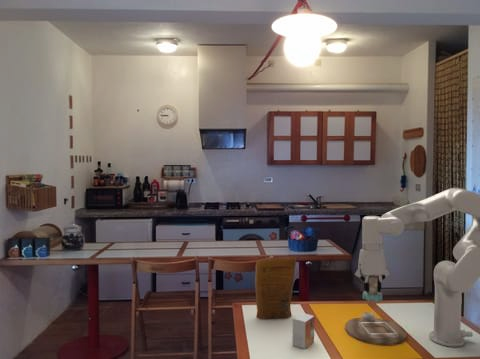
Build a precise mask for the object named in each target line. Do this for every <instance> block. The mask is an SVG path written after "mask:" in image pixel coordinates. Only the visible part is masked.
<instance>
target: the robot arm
mask: <svg viewBox="0 0 480 359" xmlns="http://www.w3.org/2000/svg"><path fill="white" fill-rule="evenodd" d="M454 211H457V212H461V213H464V214H466V215H469V216H471V223H470V226H469V228H468V229H467V231H466V232H465V233H464V235H463V236H462V237H461V238H460V239H459V241H458V242H457V243H456V244H455V246H454V247H453V250H452V255H453V257H454V259H455V260H456V261H457V262H456V263H455V262H453V261H451V260H442V261H440V262H438V263H437V264H436V265H435V266H434V269H433V281H434V282H433V283H434V303H433V304H434V305H433V307H434V308H433V310H434V311H433V331H430V332H429V334H428V335H429V336H428V338H429V339H430V340H431V341H432V342H434V343H436V344H439V345H441V346H446V347H452V348H458V347H462V346H464V345H465V339H464V338H465V337H466V338H467V337H468V338H472V337H474V336H473V332H472V331H466V329H462V327H461V326H462V325H461V324H462V322H461V321H462V304H463V302H462V301H463V298H462V294H463V293H466V292H468V291H469V290H470V289H471V288H472V287H473V286H474V285H475V284H476V283H477V281H478V280H479V279H480V193H477V192H474V191H471V190H468V189H465V188H459V187H450V188H448V189H446V190H443V191H441V192H438V193H436V194H433V195H431V196H429V197H427V198H424V199H422V200H419V201H416V202H415V201H414V202H412V203H410V204H405V205H403V206H400V207H397V208H394V209H392V210H390V211H388V212H386V213H384V214H382V215H381V216H378V215H366V216H364V217H362V220H361V222H362V223H361V225H362V226H361V228H362V229H361V233H362V236H361V237H362V238H361V240H362V241H361V242H362V248H361V249H360V250H359V255H358V265H357V267H358V268H357V270H356V271H355V272H354V275H355V276H356V277H357V278H359V279H361V280H362V282H363V290H364V292H367V293H369V283H368V277H369V275H375V276H377V278H378V292H379V293H381V290H382V283H383V281H384V280H385V278H386V277H388V276H390V272H389V270H388V268H387V265H386V264H387V263H386V255H385V251H384V249H383V248H384V247H385V248H386V243H385V242H384V243H383V235H384V236H393V237H394V236H398V235H400V234H402V233H403V231H404V229H405V225H407V224H411V223H416V222H429V221H430V222H431V221H433V220H435V219H439V218H440V217H442V216H444V215H447V214H450V213H453V212H454Z"/></svg>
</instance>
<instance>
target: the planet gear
mask: <svg viewBox="0 0 480 359" xmlns="http://www.w3.org/2000/svg"><path fill="white" fill-rule="evenodd" d="M368 283H369V293H367V292H366V291H363V292H362V299H363V300H366V301H367V302H374V303H377V302H380V301H383V292H378V278H377V276H376V275H369V277H368Z"/></svg>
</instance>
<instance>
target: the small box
mask: <svg viewBox="0 0 480 359" xmlns="http://www.w3.org/2000/svg"><path fill="white" fill-rule="evenodd" d="M315 320H316V317H315V316H314V315H312V314H308V313H305V312H301V313H300V314H299V315H297V316H296V317H293V318H292V346H295V347H298V348H299V349H306V348H308V347H310V345H312V344H314V343H315V324H316V323H315Z"/></svg>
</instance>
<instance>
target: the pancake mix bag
mask: <svg viewBox="0 0 480 359" xmlns="http://www.w3.org/2000/svg"><path fill="white" fill-rule="evenodd" d="M296 264H297V257H296V256H281V257H272V258H259V259H258V261H257V260H256V261H255V276H254V283H255V285H254V286H255V287H254V288H255V300H256V301H255V302H256V311H257V312H256V318H257V319H260V320H273V319H274V320H279V319H289V318H291V317H292V316H293V315H292V311H291V302H292V297H293V296H292V294H293V287H294V281H295V270H296V267H297V266H296Z"/></svg>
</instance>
